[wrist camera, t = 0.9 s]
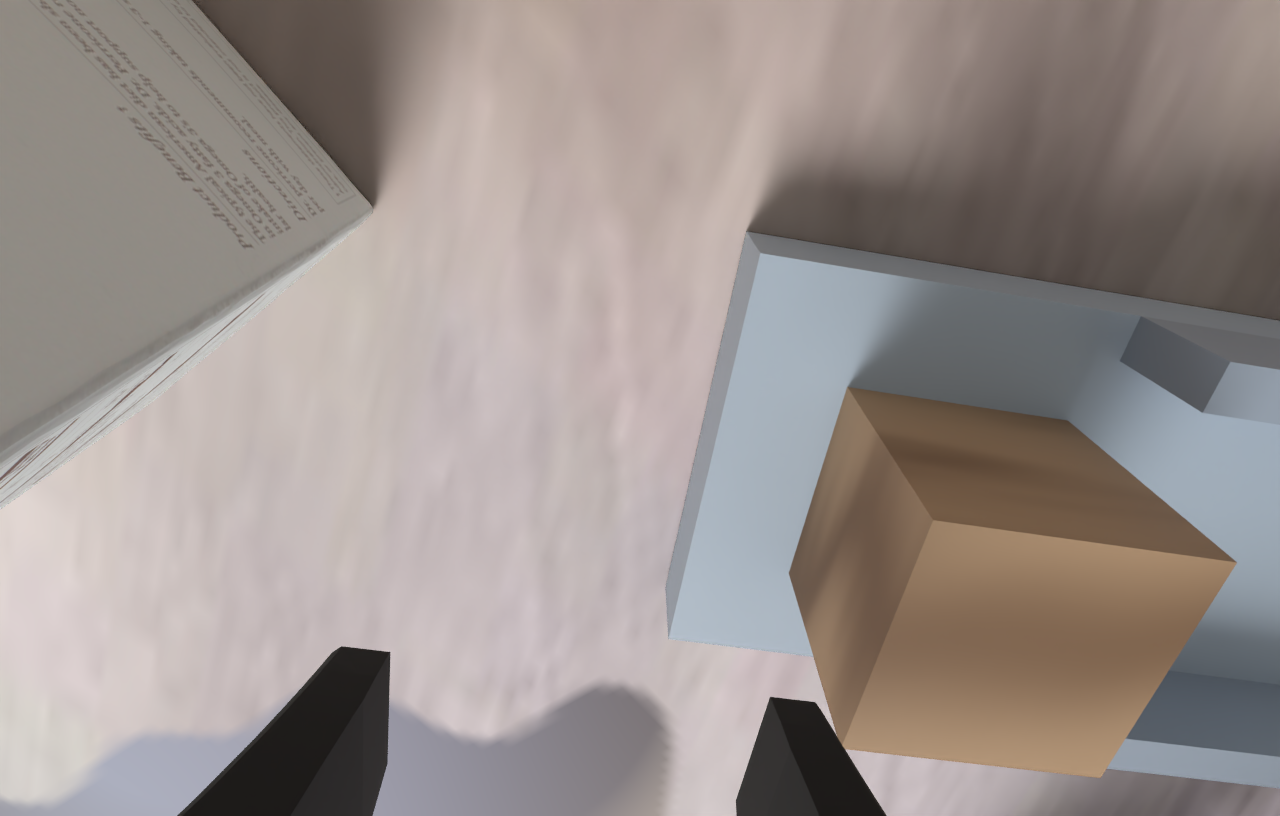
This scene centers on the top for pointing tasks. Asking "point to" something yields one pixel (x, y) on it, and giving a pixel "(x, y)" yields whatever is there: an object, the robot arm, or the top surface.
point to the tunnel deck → (1009, 381)
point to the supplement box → (137, 214)
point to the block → (991, 586)
